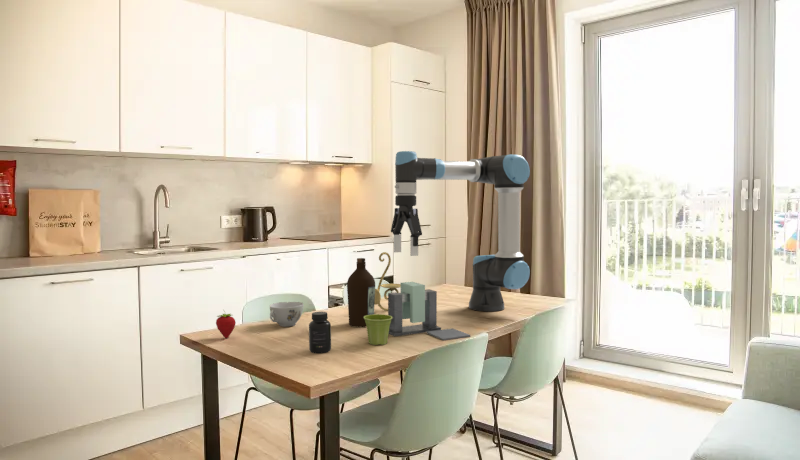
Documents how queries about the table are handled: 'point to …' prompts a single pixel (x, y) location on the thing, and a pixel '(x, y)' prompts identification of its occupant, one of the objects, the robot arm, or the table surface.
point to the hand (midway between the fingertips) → (405, 254)
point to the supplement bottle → (319, 333)
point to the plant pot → (377, 328)
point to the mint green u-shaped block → (414, 302)
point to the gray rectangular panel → (448, 334)
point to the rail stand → (396, 313)
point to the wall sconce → (390, 286)
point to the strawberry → (225, 324)
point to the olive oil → (360, 294)
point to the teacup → (286, 313)
